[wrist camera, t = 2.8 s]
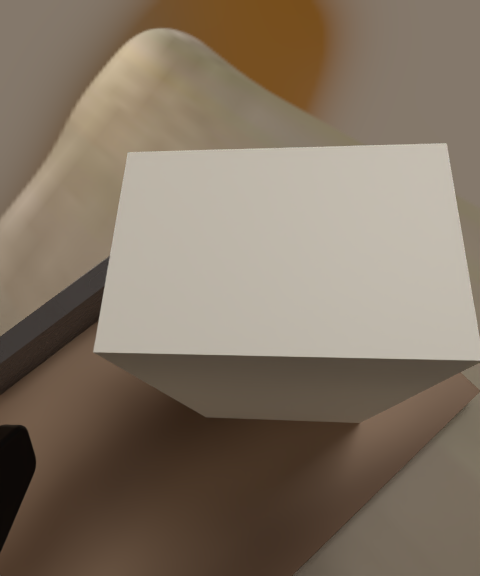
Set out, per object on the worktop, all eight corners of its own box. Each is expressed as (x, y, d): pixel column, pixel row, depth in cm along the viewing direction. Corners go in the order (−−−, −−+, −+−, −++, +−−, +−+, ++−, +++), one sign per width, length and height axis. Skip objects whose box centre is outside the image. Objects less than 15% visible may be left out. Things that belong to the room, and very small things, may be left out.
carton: (359, 422, 16) (483, 360, 6) (206, 417, 17) (93, 352, 7) (353, 319, 18) (445, 136, 8) (212, 318, 19) (128, 145, 8)
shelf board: (469, 394, 17) (480, 391, 16) (105, 750, 14) (93, 770, 13) (268, 202, 22) (267, 191, 21) (-46, 443, 19) (-63, 442, 18)
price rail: (253, 214, 22) (248, 177, 19) (14, 398, 19) (-32, 387, 16) (237, 198, 22) (230, 160, 19) (1, 376, 20) (-45, 361, 17)
